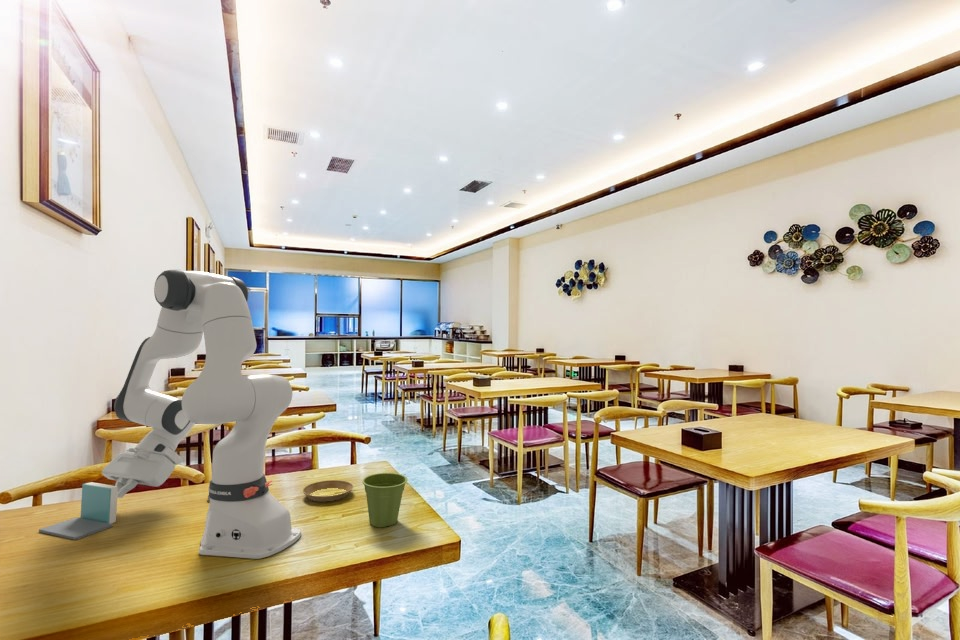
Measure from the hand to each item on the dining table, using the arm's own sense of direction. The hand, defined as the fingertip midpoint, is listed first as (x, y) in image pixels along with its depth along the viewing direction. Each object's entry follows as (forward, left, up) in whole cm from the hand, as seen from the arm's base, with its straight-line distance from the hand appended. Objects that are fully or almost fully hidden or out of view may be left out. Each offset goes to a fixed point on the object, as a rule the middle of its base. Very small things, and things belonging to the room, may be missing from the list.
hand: (115, 496), depth 120 cm
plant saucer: (-44, -32, -5) cm, 55 cm away
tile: (0, +4, -5) cm, 6 cm away
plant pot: (-70, -20, -5) cm, 73 cm away
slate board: (-1, +9, -5) cm, 11 cm away
